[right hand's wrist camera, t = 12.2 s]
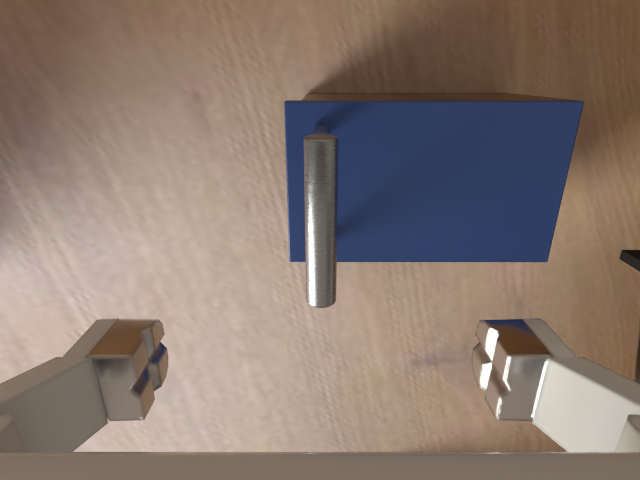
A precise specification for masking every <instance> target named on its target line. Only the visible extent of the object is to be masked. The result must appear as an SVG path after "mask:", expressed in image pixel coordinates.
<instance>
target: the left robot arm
mask: <svg viewBox="0 0 640 480" xmlns="http://www.w3.org/2000/svg"><path fill="white" fill-rule="evenodd" d="M619 259H620V260H622V261H624V262H625V263H627V264H629V265H630V266H632V267H633V268H635V269H637V270H638V271H640V250H622V252H621V255H620V258H619Z"/></svg>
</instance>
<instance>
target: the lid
mask: <svg viewBox="0 0 640 480" xmlns="http://www.w3.org/2000/svg"><path fill="white" fill-rule="evenodd" d="M583 104H584V102H583V101H577V100H420V101H285V103H284V105H285V137H286V169H287V200H288V232H289V261H290V262H306V301H307V303H308V304H309V305H311V306H313V307H318V308H324V307H329V306H331V305H333V304H334V303H335V301H336V264H337V262H547V261H548V257H549V252H550V248H551V243H552V239H553V235H554V230H555V226H556V222H557V217H558V213H559V209H560V204H561V200H562V195H563V191H564V187H565V182H566V178H567V174H568V169H569V165H570V161H571V156H572V152H573V147H574V143H575V139H576V134H577V130H578V126H579V121H580V117H581V112H582V108H583Z"/></svg>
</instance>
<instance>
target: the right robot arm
mask: <svg viewBox="0 0 640 480" xmlns="http://www.w3.org/2000/svg"><path fill="white" fill-rule="evenodd" d="M163 336H164V329H163V325H162V322H161V321H160V320H152V319H99V320H96V321H95V322H94V324H93V325H92V326H91V327H90V328H89V329H88V330H87V331H86V332H85V333H84V334H83V336H82V337H81V338H80V339H79V340H78V341H77V342H76V343H75V344H74V345H73V346H72V347H71V349H70V350H69V351H68V352H67V353H66V354H65V355H64V356H63V357H56V358H54V359H52V360H49V361H47V362H45V363H43V364H41V365H39V366H37V367H35V368H33V369H30V370H28V371H26V372H24V373H22V374H20V375H18V376H16V377H14V378H12V379H9V380H7V381H5V382H3V383H1V384H0V480H640V384H639V383H637V382H635V381H632V380H630V379H628V378H626V377H624V376H622V375H620V374H618V373H616V372H614V371H612V370H609V369H607V368H605V367H603V366H601V365H599V364H597V363H595V362H593V361H591V360H588V359H586V358H584V357H577V356H576V355H575V354H574V353H573V352H572V351H571V350H570V349H569V347H568V346H567V345H566V344H565V343H564V342H563V341H562V340H561V339H560V338H559V337H558V335H557V334H556V333H555V332H554V331H553V330H552V329H551V328H550V327H549V326H548V325H547V324H546V322H545V321H544V320H541V319H539V318H538V319H514V320H480V321H479V323H478V325H477V329H476V336H477V338H478V339H479V341H480V342H479V343H478V344H477V345H476V346H475V347H474V348H473V353H472V371H473V374H474V378H475V380H476V382H477V384H478V386H479V387H481V388H482V389H484V390H485V391H486V397H485V400H486V402H487V404H488V406H489V408H490V410H491V412H492V414H493V415H494V417H495V419H496V420H511V421H532V423H533V424H534V425H535V426H537V427H538V428H539V429H540V430H542V431H543V432H544V433H545V434H546V435H548V436H549V437H550V438H551V439H553V440H554V441H555V442H556V443H558V444H559V445H560V446H561V447H562V448H564V449H565V450H566V451H567V452H73V451H74V450H75V449H76V448H78V447H79V446H80V445H81V444H83V443H84V442H85V441H86V440H88V439H89V438H90V437H91V436H92V435H94V434H95V433H96V432H97V431H99V430H100V429H101V428H102V427H104V426H105V425H106V424H107V423H108V421H128V420H144V419H145V417H146V416H147V414H148V412H149V410H150V408H151V406H152V404H153V402H154V400H155V397H154V391H155V390H156V389H158V388H159V387H161V386H162V384H163V382H164V380H165V378H166V374H167V369H168V352H167V348H166V347H165V346H164V345H163V344H162V343H161V342H160V341H161V339H162V338H163Z"/></svg>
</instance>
